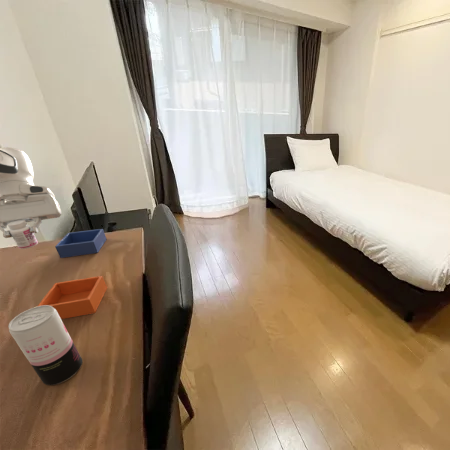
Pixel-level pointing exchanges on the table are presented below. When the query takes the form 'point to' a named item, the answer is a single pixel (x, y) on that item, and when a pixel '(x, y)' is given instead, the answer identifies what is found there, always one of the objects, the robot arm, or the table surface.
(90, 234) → the blue bin
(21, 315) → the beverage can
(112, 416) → the table surface
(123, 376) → the table surface
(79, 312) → the terracotta bin
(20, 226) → the pill bottle
